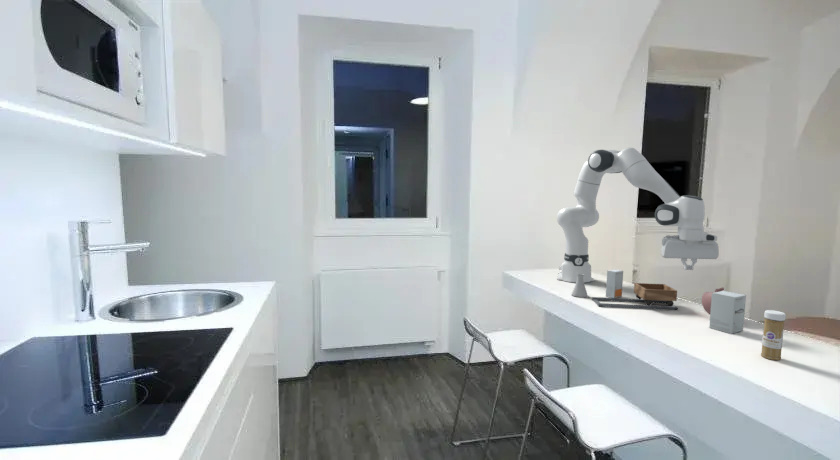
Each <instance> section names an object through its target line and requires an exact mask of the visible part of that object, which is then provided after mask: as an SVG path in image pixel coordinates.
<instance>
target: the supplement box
mask: <svg viewBox="0 0 840 460" xmlns="http://www.w3.org/2000/svg"><path fill="white" fill-rule="evenodd" d="M714 292H715V291H714ZM746 298H747V295H746V294H742V293H736V292H733V291H731V292H730V291H726V290H722V291H720V292H715V293H712V300H711V313H710V314H709V316H710V317H709V327H708V328H710V329H712V330H715V331H719V332H722V333H723V332H724V333H726V334H731V335H732V334H735V333H738V332H742V331H744V323H745V322H744V321H745V312H746V300H747V299H746Z"/></svg>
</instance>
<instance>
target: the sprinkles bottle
mask: <svg viewBox="0 0 840 460" xmlns="http://www.w3.org/2000/svg"><path fill="white" fill-rule="evenodd" d="M763 314H764V315H763V318H764V321H763V322H764V324H763V325H764V326H763V334H762V340H761V341H762V342H761V352H760V356H761V357H763V358H764V359H767V360H771V361H780V360H782V350H783V349H782V348H783V341H784V340H783V339H784V326H785V320H786V313H785V312H783V311H779V310H774V309H766V310H765V311H764V313H763Z"/></svg>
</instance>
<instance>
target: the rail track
mask: <svg viewBox="0 0 840 460" xmlns="http://www.w3.org/2000/svg"><path fill="white" fill-rule="evenodd" d="M591 299H592V301H593V302H594V303H595V304H596V305H597V307H599V308H619V309H620V308H621V309H637V310H638V309H640V310H641V309H643V310H661V311H662V310H664V311H665V310H667V311H679V306H675V305H674V304H673V306H668V305H667V304H666V301H661V300H651V301H652V304H651V305H647V304H645V300H644V299H638V298H624V297H617V298H611V297H601V296H600V297H599V296H598V297H597V296H592V298H591ZM600 301H601V302H600ZM605 302H619V303H605ZM621 302H622V303H621ZM625 303H626V304H625ZM627 303H628V304H627ZM629 303H641V304H629ZM642 303H644V304H642ZM653 304H664V305H653Z"/></svg>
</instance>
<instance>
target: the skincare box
mask: <svg viewBox="0 0 840 460" xmlns="http://www.w3.org/2000/svg"><path fill="white" fill-rule="evenodd" d="M623 281H624V270H622V269H616V268H615V269H608V270H606V285H605V287H606V288H605V297H606V298H623V297H622V296H623Z"/></svg>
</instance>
